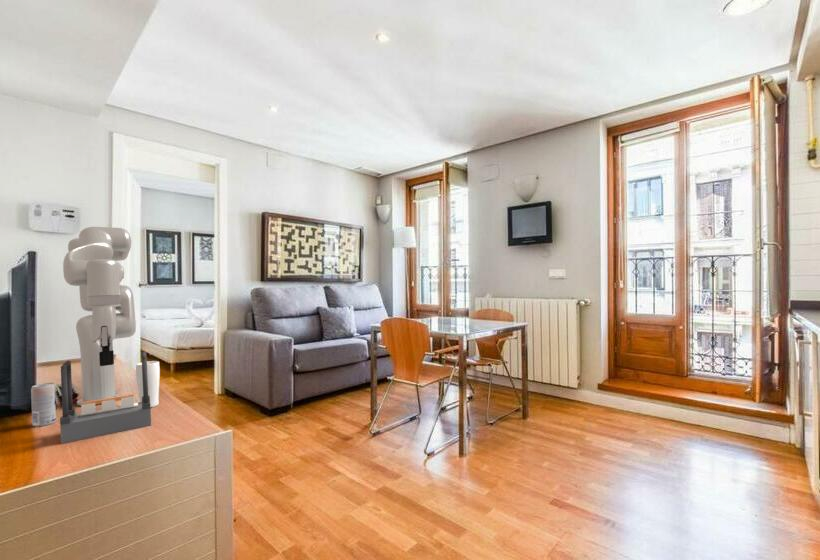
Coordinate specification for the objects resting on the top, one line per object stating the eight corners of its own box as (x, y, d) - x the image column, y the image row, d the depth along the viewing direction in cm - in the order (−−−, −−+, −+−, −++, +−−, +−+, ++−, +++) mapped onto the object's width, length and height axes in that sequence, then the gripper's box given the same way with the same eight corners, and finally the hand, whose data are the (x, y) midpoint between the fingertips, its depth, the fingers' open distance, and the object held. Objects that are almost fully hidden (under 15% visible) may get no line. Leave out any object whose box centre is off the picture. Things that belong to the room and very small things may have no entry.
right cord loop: (142, 401, 123) (140, 351, 123) (149, 400, 124) (147, 351, 124) (142, 410, 115) (140, 356, 115) (150, 408, 116) (148, 355, 116)
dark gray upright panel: (66, 414, 113) (64, 360, 113) (75, 413, 114) (73, 359, 114) (60, 425, 104) (57, 366, 104) (70, 423, 106) (67, 365, 106)
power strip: (66, 432, 113) (66, 415, 113) (150, 416, 124) (149, 400, 124) (61, 443, 105) (60, 425, 105) (151, 425, 116) (150, 408, 116)
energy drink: (53, 419, 125) (51, 382, 125) (58, 422, 122) (56, 384, 122) (30, 425, 121) (28, 386, 121) (34, 428, 117) (33, 388, 117)
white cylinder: (135, 411, 130) (133, 365, 130) (140, 405, 137) (138, 362, 137) (159, 407, 133) (157, 363, 133) (162, 402, 139) (161, 360, 139)
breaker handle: (77, 416, 111) (77, 402, 111) (138, 405, 119) (137, 393, 119) (77, 417, 110) (76, 404, 110) (138, 406, 118) (137, 394, 118)
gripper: (90, 302, 118) (92, 363, 118) (84, 303, 106) (87, 371, 106) (121, 300, 123) (123, 359, 123) (119, 301, 110) (122, 367, 110)
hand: (106, 364), depth 114 cm, fingers closed
